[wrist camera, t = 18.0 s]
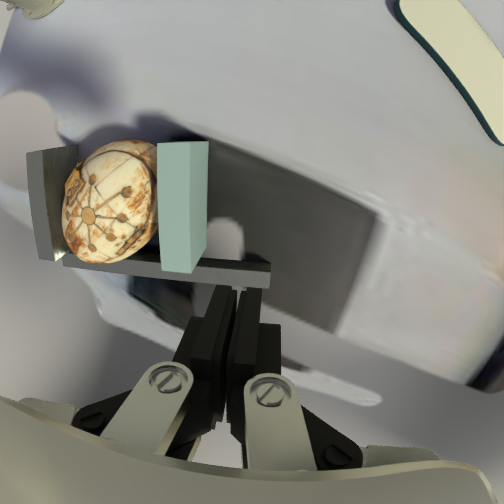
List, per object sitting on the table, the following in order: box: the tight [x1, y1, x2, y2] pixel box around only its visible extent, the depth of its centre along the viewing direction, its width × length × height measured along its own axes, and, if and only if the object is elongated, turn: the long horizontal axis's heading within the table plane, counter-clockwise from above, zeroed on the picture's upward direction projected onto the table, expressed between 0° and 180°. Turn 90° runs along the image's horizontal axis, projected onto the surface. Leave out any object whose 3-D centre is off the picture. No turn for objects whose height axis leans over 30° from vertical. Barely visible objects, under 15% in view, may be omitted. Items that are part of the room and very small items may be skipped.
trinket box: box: [62, 139, 159, 263], centre depth 29 cm, size 13×15×8 cm
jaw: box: [157, 141, 209, 273], centre depth 28 cm, size 3×12×7 cm, turn 177°
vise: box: [26, 145, 271, 288], centre depth 29 cm, size 28×16×7 cm, turn 87°
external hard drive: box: [394, 0, 504, 146], centre depth 21 cm, size 24×12×2 cm, turn 49°
